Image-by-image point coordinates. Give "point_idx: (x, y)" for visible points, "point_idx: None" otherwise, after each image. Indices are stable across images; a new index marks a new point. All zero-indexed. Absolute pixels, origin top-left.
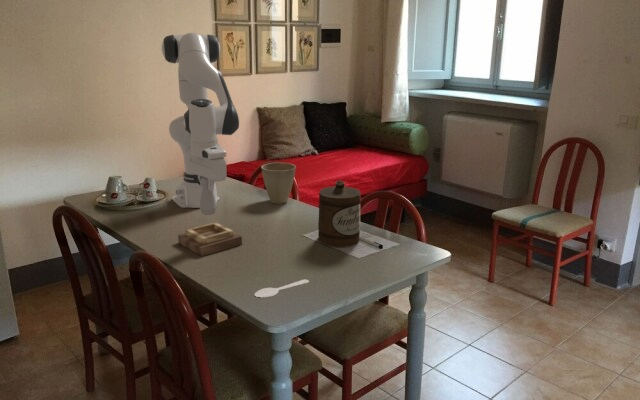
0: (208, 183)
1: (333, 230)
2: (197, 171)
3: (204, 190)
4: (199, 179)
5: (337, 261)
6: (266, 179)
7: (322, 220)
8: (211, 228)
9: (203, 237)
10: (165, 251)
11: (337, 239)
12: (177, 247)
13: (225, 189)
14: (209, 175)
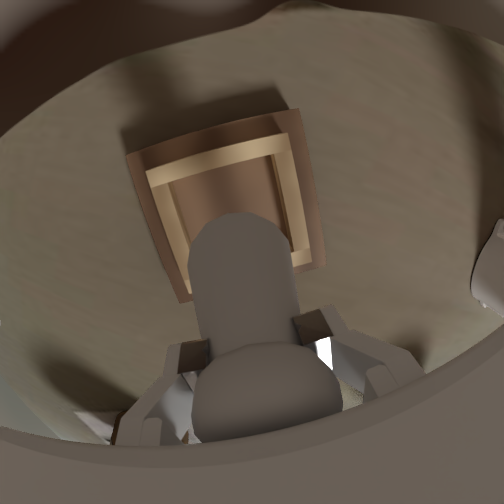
0: (160, 396)
1: (113, 438)
2: (408, 435)
3: (219, 312)
4: (369, 351)
5: (61, 389)
6: None
7: None
8: (288, 235)
9: (161, 176)
10: (231, 55)
11: (114, 427)
12: (248, 95)
13: (499, 321)
14: (49, 475)
